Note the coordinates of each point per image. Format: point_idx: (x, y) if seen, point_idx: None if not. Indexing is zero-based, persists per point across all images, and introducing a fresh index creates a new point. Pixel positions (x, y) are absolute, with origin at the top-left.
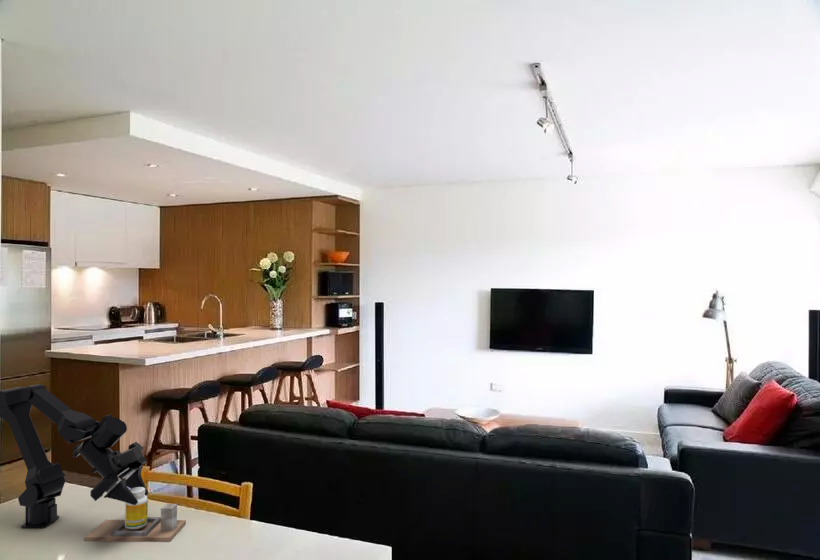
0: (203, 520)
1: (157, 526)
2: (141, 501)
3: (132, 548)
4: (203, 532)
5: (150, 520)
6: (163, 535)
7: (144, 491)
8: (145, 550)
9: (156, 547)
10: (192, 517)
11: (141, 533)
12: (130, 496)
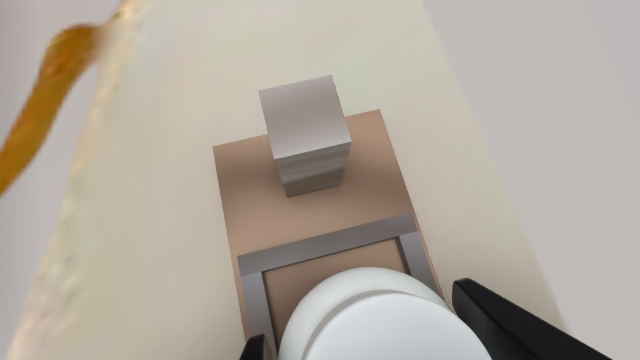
0: (173, 102)
1: (303, 232)
2: (409, 277)
3: (476, 224)
4: (274, 46)
5: (268, 304)
6: (372, 145)
7: (365, 295)
8: (468, 161)
9: (433, 136)
10: (149, 164)
11: (416, 233)
12: (562, 341)
